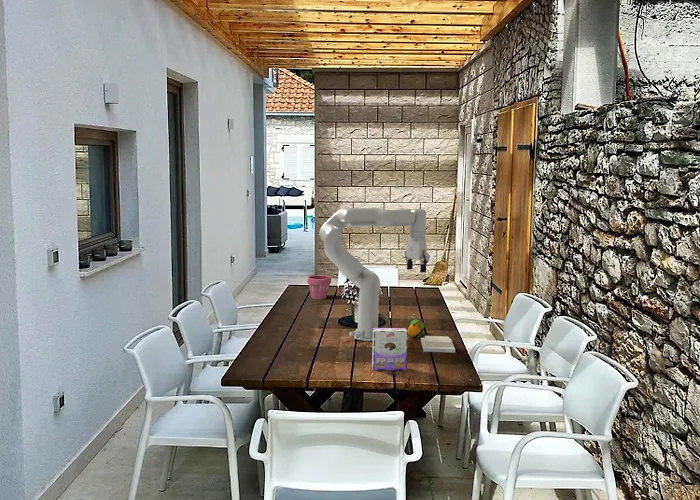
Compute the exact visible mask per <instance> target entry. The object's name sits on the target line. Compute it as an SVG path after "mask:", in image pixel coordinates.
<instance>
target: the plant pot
mask: <svg viewBox="0 0 700 500" xmlns="http://www.w3.org/2000/svg"><path fill="white" fill-rule="evenodd" d="M307 284H308V287H309V292H310V297H311V299H313V300H325V299H327V296H328V293H329V288H330V284H332V277H331V276H329V275H323V274H322V275H319V274H317V275H314V274H313V275H308V276H307Z"/></svg>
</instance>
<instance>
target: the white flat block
mask: <svg viewBox="0 0 700 500" xmlns="http://www.w3.org/2000/svg"><path fill="white" fill-rule="evenodd" d="M420 343H421V347H422V352H424V353H432V352H433V353H452V354H453V353H454V354H455V353H456V348H455V346H454V343H453V341H452V339H451V338H450V336H447V335H446V336H439V335H438V336H437V335H424V337H421V338H420Z"/></svg>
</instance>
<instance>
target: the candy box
mask: <svg viewBox="0 0 700 500" xmlns="http://www.w3.org/2000/svg"><path fill="white" fill-rule="evenodd" d="M371 355H372V357H371V358H372V359H371V368H372V371H407V370H408V364H407V363H408V329H407V328H406V327H404V328H402V327H401V328H400V327H397V328H396V327H392V328H390V327H378V328H373V341H372V354H371Z"/></svg>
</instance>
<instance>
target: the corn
mask: <svg viewBox="0 0 700 500" xmlns="http://www.w3.org/2000/svg"><path fill="white" fill-rule="evenodd" d="M424 328H425V323H424V322H423V321H420V320H419V319H413V320H412V321H411V322H410V325H409V326H408V329H407V331H408V335H407V337H409V338H412V337H416V336H417V337H416V339H418V338H419V337H421V336H422V334H423V333H424Z"/></svg>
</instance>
